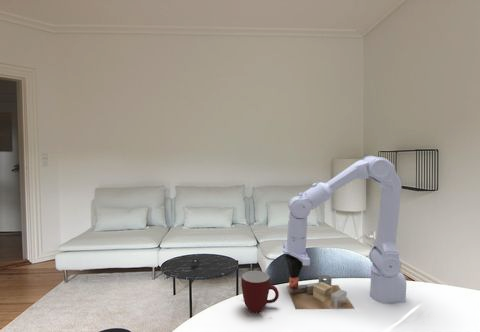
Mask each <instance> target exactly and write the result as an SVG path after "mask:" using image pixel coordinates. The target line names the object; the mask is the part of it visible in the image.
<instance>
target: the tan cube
mask: <svg viewBox="0 0 480 332" xmlns="http://www.w3.org/2000/svg"><path fill="white" fill-rule="evenodd" d="M317 283H318V284H316V285H314V286H313V297H314V298H317V299H319V300H321V301H323V302H325V301H327V300H329V299H331V294H332V286H330V285H327V284H325V283H322V282H321V283H319V282H317Z"/></svg>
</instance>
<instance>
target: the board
mask: <svg viewBox="0 0 480 332" xmlns="http://www.w3.org/2000/svg"><path fill="white" fill-rule="evenodd" d="M331 286H332V294H333V293H335V292H337V291H338V290H340V289H341V287H340V286H339V285H337V284H331ZM286 289H287V290H288V294H289V296H290V298H291V301H292V303H293V306H294V309H295V310H348V309H349V310H350V309H351V310H353V309H354V310H355V309H356V308H355V306H354V305H353V303H352V302H351V301H350V300H349V298H348V297H347V299H346V304H344V305H343V306H341V307H339V308H337V309H335V308H333V307H331V306H330V304H331V299H329V300H327V301H325V302H323V301H321V300H319V299H317V298H314V297H313V294H307V293H306V292H301V293H294V294H292V293H291V292H290V291H289V285H286Z"/></svg>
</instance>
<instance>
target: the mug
mask: <svg viewBox="0 0 480 332" xmlns="http://www.w3.org/2000/svg"><path fill="white" fill-rule="evenodd" d="M240 281H241V284H240V285H241V291H242V298H243V302H244V304H245V307H246V309H247V310H248V313H250V314H255V315H257V314H261V313H262V311H263V310H264V308H265V307H266V305H267V304H273V303H275V302H277V301H278V299H279V296H280V294H279V289H278V288H277V287H276V286H275V285H273V284H271V277H270V274H269V273H267V272H264V271H262V270H250V271H245V272H243V274H242V275H241V280H240ZM270 290H272V291H273V292H274V294H275V295H274V297H273V298H272V299H268V297H269V293H270Z"/></svg>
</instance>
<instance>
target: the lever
mask: <svg viewBox="0 0 480 332" xmlns="http://www.w3.org/2000/svg"><path fill="white" fill-rule="evenodd" d="M288 278H289V279H288V281H289V284H288V286H289V291H290V292H291V293H292V294H294V293H301V292H306V293H307V294H313V286H314V285H316V284H318V283H321V282H322V283H325V284H327V285H330V286H331V285H332V276H329V275H324V274H321V275H318V282H313V283H306V284H299V279H300V278H299V277H295V278H291V277H290V276H289V277H288ZM289 291H288V292H289Z"/></svg>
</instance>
